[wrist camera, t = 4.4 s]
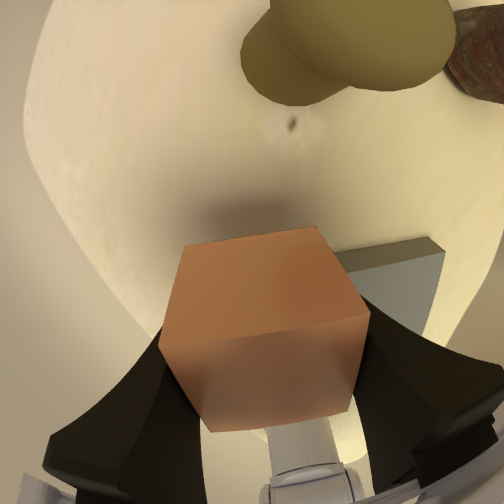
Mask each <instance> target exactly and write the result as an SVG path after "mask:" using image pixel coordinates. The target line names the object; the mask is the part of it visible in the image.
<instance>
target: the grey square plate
mask: <svg viewBox="0 0 504 504" xmlns="http://www.w3.org/2000/svg"><path fill="white" fill-rule="evenodd" d="M445 253H446V251H444V250H443V249H442V248H441V247H440V246H439V245H437V244H436V243H435V242H434V241H433V240H431V239H430V238H429V237H422V238H417V239H412V240H406V241H401V242H396V243H390V244H385V245H379V246H374V247H368V248H362V249H357V250H351V251H346V252H340V253H334V255H335V256H336V258H337V259H338V261H339V262H340V264H341V265H342V267H343V269H344V270H345V272H346V273H347V275H348V276H349V278H350V280H351V281H352V283H353V284H354V286H355V288H356V289H357V291H358V293H359V294H360V295H362V296H363V297H364V298H365V299H367V300H368V301H369V302H370V303H372V304H373V305H374V306H376V307H377V308H378V309H380V310H381V311H382V312H384V313H385V314H387V315H388V316H389V317H391V318H392V319H394V320H395V321H397V322H398V323H400V324H401V325H403V326H405V327H406V328H408V329H409V330H411V331H413V332H415V333H416V334H418V335H420V336H422V333H423V331H424V328H425V325H426V322H427V319H428V316H429V313H430V310H431V307H432V303H433V300H434V297H435V293H436V290H437V286H438V282H439V278H440V274H441V270H442V266H443V262H444V257H445Z"/></svg>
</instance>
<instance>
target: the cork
mask: <svg viewBox="0 0 504 504" xmlns="http://www.w3.org/2000/svg"><path fill="white" fill-rule="evenodd" d="M270 6H271V8H270V9H269V10H268V11H267V12H266V13H265V14H264V15H263V16H262V18H261V19H260V20H259V21H258V22H257V23H256V24H255V25H254V27H253V28H252V29H251V30H250V32H249V33H248V34H247V35H246V37H245V38H244V41H243V45H242V48H241V51H240V54H241V67H242V69H243V71H244V73H245V76H246V78H247V80H248V82H249V83H250V84H251V85H252V86H253V87H254V88H255V89H256V90H257V91H258V93H260V94H262V95H263V96H265V97H267V98H268V99H270V100H271V101H273V102H277V103H280V104H284V105H287V106H307V105H310V104H313V103H317V102H320V101H322V100H324V99H325V98H327V97H329V96H331V95H333V94H335V93H337V92H338V91H340V90H342V89H344V88H346V87H348V86H353V87H355V88H360V89H368V90H376V91H397V90H402V89H407V88H413V87H416V86H418V85H421V84H423V83H425V82H426V81H428V80H429V79H431V78H432V77H434V76H435V75H437V74H438V73H440V72H441V70H442V69H443V67H444V65H445V64H446V62H447V60H448V58H449V57H450V55H451V53H452V51H453V49H454V46H455V37H456V26H455V21H454V16H453V11H452V8H451V6H450V4H449V2H448V0H270Z"/></svg>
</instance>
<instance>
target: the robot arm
mask: <svg viewBox="0 0 504 504" xmlns="http://www.w3.org/2000/svg"><path fill="white" fill-rule="evenodd" d="M360 296H361V297H362V299H363V301H364V302H365V304H366V306H367V307H368V309H369V311H370V318H369V324H368V329H367V334H366V340H365V344H364V349H363V354H362V358H361V363H360V367H359V371H358V375H357V379H356V383H355V387H354V391H353V395H354V398H355V401H356V405H357V408H358V412H359V416H360V419H361V423H362V427H363V432H364V436H365V440H366V445H367V450H368V455H369V461H370V468H371V474H372V482H373V489H374V492H375V496H372V497H369V498H366V499H365V496H364V491H363V487H362V483H361V480H360V477H359V475H358V473H357V471H356V470H354V469H352V468H351V467H347V468H344V465H343V462H341V463H340V460H339V456H338V453H337V449H336V445H335V441H334V437H333V434H332V430H331V426H330V422H329V419H328V416H326V417H322V418H317V419H313V420H308V421H303V422H298V423H292V424H286V425H280V426H274V427H267V428H265V431H266V434H267V436H268V444H269V452H270V460H271V467H272V476H273V477H271V478H270V484H266V485H264V487H263V488H262V489H261V491H260V496H259V501H260V503H259V504H401V503H403V502H405V501H407V500H410V499H412V498H414V497H416V496H418V495H420V494H421V495H420V496H419V497H418V500H417V502H416V503H415V504H503V503H504V425H503V426H502V427H500V428H499V429H498V430H496V431H494V428H493V426H492V424H493V423H494V422H495V419H494V417H493V415H492V413H493V412H494V411H495V410H496V409H497V407H498V406H499V405H500V404H501V403H502V402H503V401H504V370H503V368H502V366H500V365H498V364H494V363H489V362H485V361H481V360H477V359H474V358H471V357H468V356H465V355H462V354H459V353H456V352H454V351H452V350H449V349H447V348H444V347H442V346H440V345H438V344H436V343H433V342H431V341H429V340H427V339H425V338H424V337H422V336H420V335H418V334H416V333H415V332H413V331H411V330H409V329H408V328H406V327H405V326H403V325H401V324H400V323H398V322H397V321H395V320H394V319H392V318H391V317H389V316H388V315H387V314H385V313H384V312H382V311H381V310H380V309H378V308H377V307H376V306H374V305H373V304H372V303H370V302H369V301H368V300H367V299H365V298H364V297H363V296H362V295H360ZM162 327H163V326H162ZM162 327H161V329H160V330H159V332H158V333H157V335H156V336H155V337H154V339H153V340H152V342H151V343H150V345H149V346H148V348H147V349H146V350H145V352H144V353H143V354H142V355H141V357H140V358H139V359H138V361H137V362H136V363H135V365H134V366H133V367H132V368H131V370H130V371H129V372H128V373H127V374H126V375H125V376H124V378H122V380H121V381H120V382H119V383H118V384H117V385H116V386H115V387H114V388H113V389H112V390H111V391H110V392H109V393H108V394H107V395H105V396H104V397H103V398H102V399H101V400H100V401H99V402H98V403H97V404H96V405H94V406H93V407H92V408H91V409H89V410H88V411H87V412H86V413H84V414H83V415H82V416H80V417H79V418H78V419H76V420H75V421H73V422H72V423H70V424H69V425H67V426H66V427H64V428H62V429H61V430H59V431H58V432H56V433H54V434H52V435H51V436H50V439H49V442H48V446H47V449H46V453H45V456H44V460H43V464H42V467H43V468H44V470H45V471H46V472H48V473H49V474H51V475H52V476H54V477H56V478H58V479H59V480H61V481H63V482H65V483H67V484H69V485H71V486H72V487H74V488H76V489H77V494H76V496H73V495H71V494H68V493H65V492H63V491H60V490H58V489H57V488H55V487H53V486H52V485H50V484H48V483H46V482H43V481H41V480H39V479H37V478H35V477H33V476H31V475H28V474H26V473H24V474H23V478H22V482H21V486H20V491H19V496H18V501H17V504H207V498H206V492H205V485H204V478H203V468H202V456H201V443H200V442H201V441H200V416H199V415H198V413H197V412H196V410H195V409H194V407H193V405H192V404H191V402H190V401H189V399H188V397H187V396H186V394H185V393H184V391H183V389H182V388H181V386H180V384H179V383H178V381H177V379H176V377H175V376H174V374H173V372H172V370H171V369H170V367H169V365H168V363H167V362H166V360H165V358H164V356H163V354H162V352H161V351H160V349H159V347H158V344H159V340H160V335H161V331H162ZM422 493H423V494H422Z"/></svg>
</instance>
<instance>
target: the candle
mask: <svg viewBox="0 0 504 504" xmlns="http://www.w3.org/2000/svg"><path fill="white" fill-rule="evenodd" d="M453 16H454V21H455V26H456V37H455V46H454V49H453V51H452V53H451V55H450V57H449V58H448V60H447V63H448V67H449V69H450V70H451V72H452V74H453V75H454V76H455V78H456V79H457V81H458V82H459V83H460V84H461V86H462V87H463V88H464V90H465V91H466V92H467V93H468V94H469V95H471V96H473V97H474V98H476V99H479V100H485V101H490V102H495V103H499V104H504V4H499V5H489V6H480V7H473V8H468V9H463V10H458V11H454V12H453Z"/></svg>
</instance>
